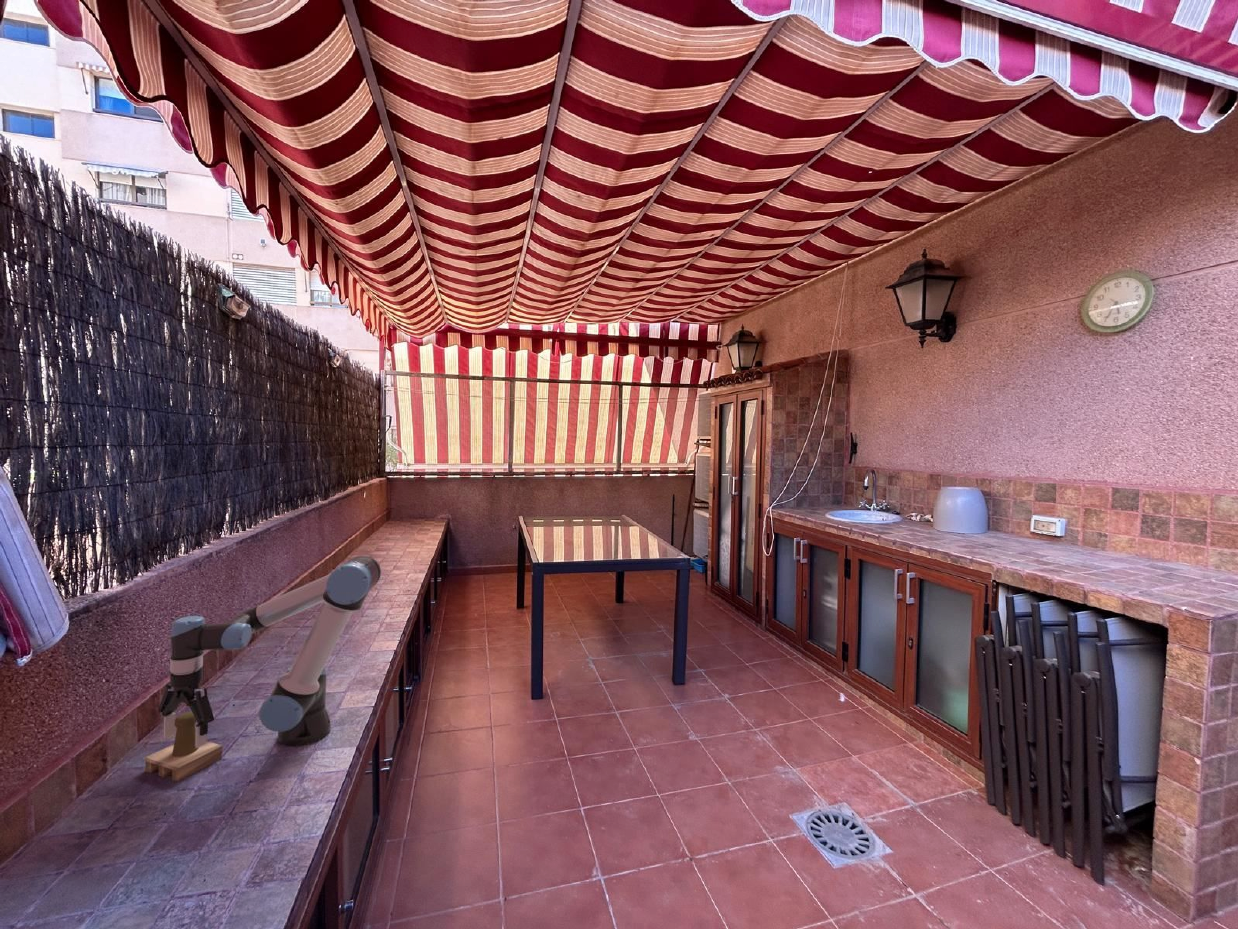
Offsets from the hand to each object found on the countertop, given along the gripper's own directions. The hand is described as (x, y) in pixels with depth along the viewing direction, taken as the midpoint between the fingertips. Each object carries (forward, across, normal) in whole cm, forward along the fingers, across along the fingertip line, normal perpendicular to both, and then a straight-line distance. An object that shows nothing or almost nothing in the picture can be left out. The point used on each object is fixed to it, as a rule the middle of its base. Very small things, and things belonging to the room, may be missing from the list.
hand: (184, 740), depth 153 cm
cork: (+3, 0, 0) cm, 3 cm away
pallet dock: (+7, 0, 0) cm, 7 cm away
